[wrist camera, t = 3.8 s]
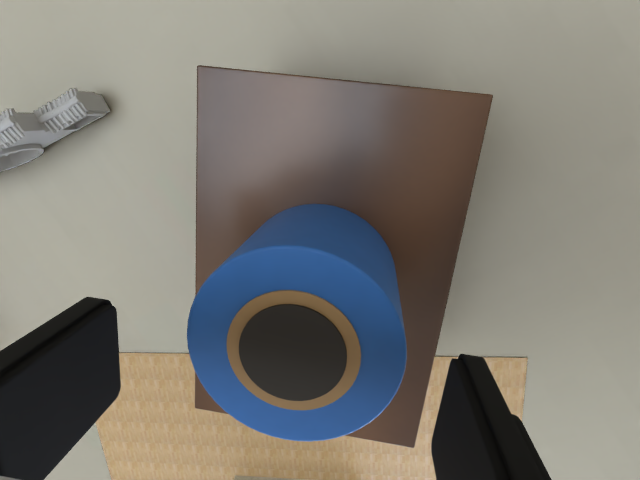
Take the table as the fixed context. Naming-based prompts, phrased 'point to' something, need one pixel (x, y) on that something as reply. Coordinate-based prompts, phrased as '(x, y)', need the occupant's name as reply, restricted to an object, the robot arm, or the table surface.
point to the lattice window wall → (46, 125)
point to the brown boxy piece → (344, 188)
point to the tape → (302, 326)
